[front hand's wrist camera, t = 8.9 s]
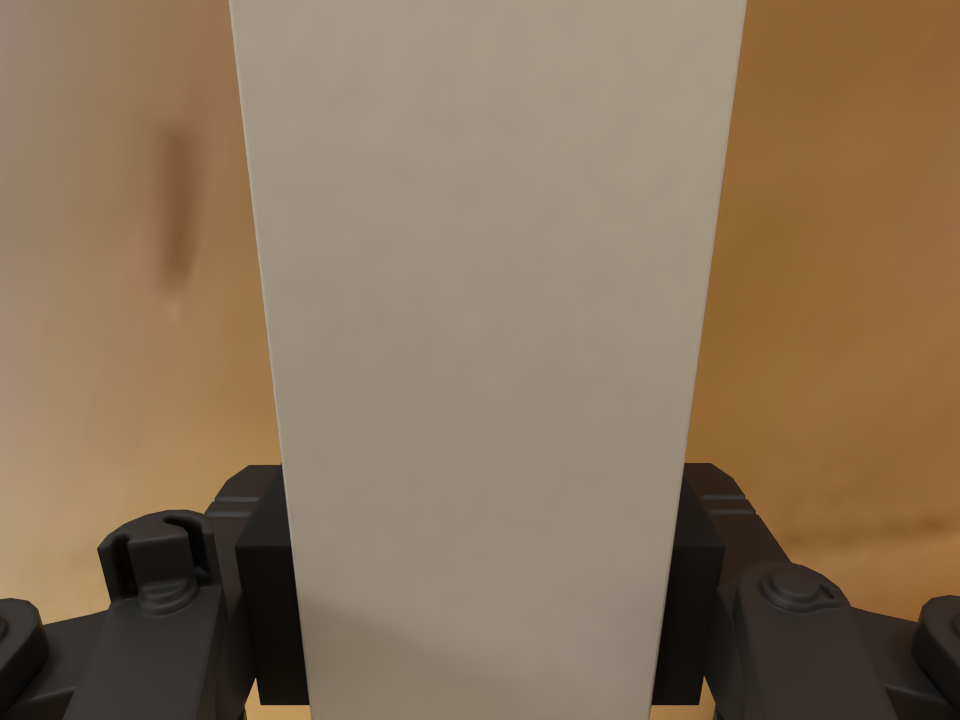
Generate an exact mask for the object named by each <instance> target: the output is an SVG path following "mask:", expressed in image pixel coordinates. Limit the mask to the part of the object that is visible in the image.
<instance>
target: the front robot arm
mask: <svg viewBox="0 0 960 720" xmlns="http://www.w3.org/2000/svg"><path fill="white" fill-rule="evenodd" d="M755 512H756V511H755V509H754V508H753V506H752V505H751V504H750V502H749V501H748V500H746V499H745V495H744V494H743V492H742V491H741V489H740V488H739V486H738V485H737V484H736V482H735V481H734V479H733V478H732V477H730V476H729V475H727V474H726V473H724V472H723V471H722V470H720V469H719V468H717V467H716V466H714V465H713V464H711V463H684V468H683V476H682V483H681V490H680V498H679V505H678V512H677V520H676V527H675V534H674V542H673V549H672V556H671V564H670V571H669V578H668V586H667V593H666V601H665V608H664V615H663V623H662V630H661V637H660V645H659V652H658V659H657V667H656V674H655V681H654V689H653V696H652V703H651V705H699V702H700V696H701V690H702V684H703V678H704V676H705V678H706V681H707V683H708V686H709V688H710V691H711V693H712V696H713V698H714V701H715V703H716V705H715V710H714V716H713V720H960V596H952V595H947V596H941V597H935V598H932V599H930V600H929V601H928V602H927V603H926V604H925V605H923V606H922V610H921V613H920V616H919V619H918V622H913V621H909V620H904V619H899V618H895V617H890V616H886V615H881V614H877V613H872V612H868V611H864V610H861V609H857V608H854V607H851V605H850V603H849V601H848V600H847V598H846V597H845V595H844V594H843V592H842V591H841V590H840V588H839V587H838V586H836V585H835V584H834V583H832V582H831V581H830V580H829V579H827V578H826V577H825V576H823V575H822V574H820V573H818V572H815V571H813V570H811V569H809V568H807V567H805V566H802V565H798V564H795V563H792V562H791V561H790V560H789V558H788V557H787V555H786V554H785V552H784V551H783V550H782V548H781V547H780V545H779V544H778V542H777V541H776V540H775V538H774V537H773V535H772V534H771V532H770V531H769V529H768V528H767V527H766V525H765V524H764V522H763V521H762V519H761V518H760V517H759V515H756V513H755ZM204 514H205V515H203V514H202V513H198V512H194V511H190V510H166V511H161V512H157V513H152V514H148V515H144V516H142V517H140V518H137V519H135V520H132V521H130V522H128V523H125V524H124V525H122V526H121V527H119V528H118V529H116V530H115V531H113V532H112V533H110V534H109V535H107V537H106V538H105V539H104V540H103V542H102V543H101V544H100V545H99V546H98V548H97V550H98V554H99V558H100V562H101V565H102V569H103V573H104V577H105V581H106V585H107V588H108V592H109V596H110V600H111V604H110V607H109V609H108V610H105V611H102V612H98V613H95V614H91V615H87V616H82V617H77V618H73V619H68V620H64V621H59V622H55V623H50V624H46V625H43V624H42V621H41V618H40V614H39V611H38V609H37V608H36V607H35V606H34V605H33V604H31V603H30V602H29V601H26V600H20V599H14V598H7V599H0V720H247V716H246V710H245V703H246V700H247V698H248V695H249V693H250V690H251V688H252V685H253V683H254V680H255V678H256V680H257V686H258V692H259V698H260V704H261V705H310V702H309V694H308V685H307V676H306V668H305V659H304V650H303V642H302V633H301V624H300V615H299V607H298V598H297V589H296V581H295V572H294V563H293V555H292V546H291V537H290V529H289V520H288V511H287V503H286V494H285V485H284V476H283V468H282V463H281V465H249V466H247V467H246V468H244V469H243V470H241V471H240V472H238V473H237V474H236V475H234V476H233V477H231V478H230V479H228V480H227V481H226V483H225V484H224V486H223V487H222V488H221V490H220V491H219V493H218V494H217V496H216V497H215V501H214V502H212V503H211V504H210V506H209V507H208V509H207V510H206V512H205V513H204Z"/></svg>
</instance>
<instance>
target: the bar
mask: <svg viewBox="0 0 960 720" xmlns="http://www.w3.org/2000/svg"><path fill="white" fill-rule="evenodd" d="M746 5H747V0H229V7H230V16H231V25H232V33H233V42H234V51H235V59H236V68H237V77H238V85H239V94H240V103H241V111H242V120H243V129H244V138H245V146H246V155H247V164H248V172H249V181H250V190H251V198H252V207H253V216H254V224H255V233H256V242H257V251H258V259H259V268H260V277H261V285H262V294H263V303H264V311H265V320H266V329H267V337H268V346H269V355H270V363H271V372H272V381H273V390H274V398H275V407H276V416H277V424H278V433H279V442H280V450H281V459H282V468H283V476H284V485H285V494H286V503H287V511H288V520H289V529H290V537H291V546H292V555H293V563H294V572H295V581H296V589H297V598H298V607H299V615H300V624H301V633H302V642H303V650H304V659H305V668H306V676H307V685H308V694H309V702H310V711H311V720H649V718H650V711H651V703H652V696H653V689H654V681H655V674H656V667H657V659H658V652H659V645H660V637H661V630H662V623H663V615H664V608H665V601H666V593H667V586H668V578H669V571H670V564H671V556H672V549H673V542H674V534H675V527H676V520H677V512H678V505H679V498H680V490H681V483H682V476H683V468H684V461H685V453H686V446H687V439H688V431H689V424H690V417H691V409H692V402H693V395H694V387H695V380H696V373H697V365H698V358H699V351H700V343H701V336H702V329H703V321H704V314H705V306H706V299H707V292H708V284H709V277H710V270H711V262H712V255H713V248H714V240H715V233H716V226H717V218H718V211H719V204H720V196H721V189H722V181H723V174H724V167H725V159H726V152H727V145H728V137H729V130H730V123H731V115H732V108H733V101H734V93H735V86H736V79H737V71H738V64H739V56H740V49H741V42H742V34H743V27H744V20H745V12H746Z"/></svg>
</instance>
